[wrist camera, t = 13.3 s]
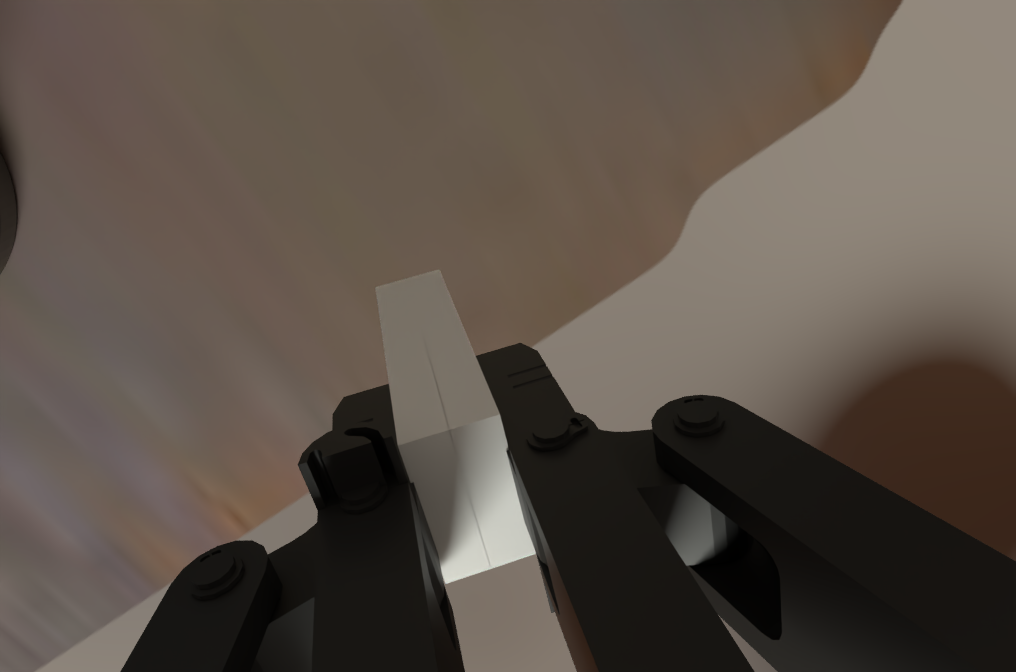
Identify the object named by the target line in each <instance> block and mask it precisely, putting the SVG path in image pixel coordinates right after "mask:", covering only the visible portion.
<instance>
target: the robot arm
mask: <svg viewBox="0 0 1016 672" xmlns="http://www.w3.org/2000/svg"><path fill="white" fill-rule="evenodd" d="M16 225H17V211H16V200H15V194H14V189H13V185H12V181H11V178H10V175H9V172H8V169H7V166H6V164H5V161H4V159H3V157H2V155H1V153H0V274H1V272H2V271H3V269H4V267H5V265H6V263H7V261H8V259H9V256H10V254H11V251H12V247H13V244H14V239H15V234H16ZM375 288H376V295H377V302H378V310H379V317H380V324H381V331H382V338H383V345H384V352H385V359H386V366H387V373H388V380H389V384H387V385H383V386H380V387H376V388H373V389H370V390H366V391H363V392H360V393H356V394H353V395H349V396H346V397H344V398H343V399H342V401H341V402H340V404H339V405H338V407H337V408H336V410H335V412H334V413H333V429H332V431H330V432H328V433H326V434H325V435H323V436H322V437H320V438H319V439H317V440H315V441H314V442H313V443H312V444H311V445H310V446H309V447H308V448H307V449H306V450H305V451H304V452H303V453H302V456H301V458H300V461H299V463H298V466H299V469H300V471H301V473H302V476H303V478H304V480H305V482H306V485H307V487H308V489H309V492H310V494H311V496H312V498H313V501H314V503H315V505H316V508H317V510H318V519H317V523H316V524H315V525H314V526H313V527H311V528H310V529H309V530H308V531H307V532H306V533H304V534H303V535H301V536H299V537H298V538H296V539H295V540H293V541H292V542H290V543H288V544H286V545H284V546H283V547H281V548H279V549H277V550H275V551H274V552H272V553H270V554H267V552H266V550H265V548H264V546H262V545H260V544H258V543H256V542H254V541H233V542H230V543H227V544H223V545H220V546H217V547H215V548H213V549H211V550H209V551H207V552H205V553H204V554H202V555H200V556H199V557H197V558H196V559H195V560H194V561H192V562H191V563H190V564H189V565H187V566H186V567H185V568H184V569H183V570H182V571H181V572H180V573H179V575H178V576H177V577H176V579H175V580H174V581H173V582H172V584H171V585H170V587H169V588H168V590H167V592H166V594H165V596H164V597H163V599H162V601H161V602H160V604H159V606H158V608H157V610H156V611H155V613H154V615H153V616H152V618H151V620H150V621H149V623H148V625H147V627H146V628H145V630H144V632H143V634H142V635H141V637H140V639H139V641H138V642H137V644H136V646H135V648H134V649H133V651H132V653H131V654H130V656H129V658H128V660H127V661H126V663H125V665H124V667H123V668H122V670H121V672H465V670H464V665H463V660H462V655H461V650H460V645H459V640H458V635H457V629H456V625H455V620H454V615H453V610H452V606H451V604H450V601H449V598H448V595H447V592H446V589H445V586H444V582H443V577H444V580H445V583H446V584H447V583H449V582H452V581H456V580H459V579H462V578H465V577H468V576H470V575H473V574H477V573H479V572H483V571H486V570H489V569H492V568H494V567H497V566H501V565H503V564H506V563H509V562H513V561H516V560H518V559H522V558H525V557H528V556H531V555H533V554H537V558H538V562H539V566H540V570H541V574H542V578H543V581H544V586H545V590H546V593H547V597H548V601H549V605H550V609H551V613H553V612H555V613H556V616H557V619H558V622H559V624H560V627H561V630H562V632H563V635H564V638H565V641H566V643H567V646H568V648H569V651H570V654H571V657H572V660H573V662H574V665H575V668H576V671H577V672H754V670H753V669H752V667H751V666H750V664H749V662H748V661H747V659H746V658H745V656H744V655H743V653H742V652H741V650H740V649H739V647H738V645H737V644H736V642H735V641H734V639H733V638H732V636H731V634H730V633H729V631H728V630H727V628H726V627H725V625H724V624H723V622H722V620H721V619H720V617H721V618H722V619H723V620H725V622H726V623H727V624H728V625H729V626H731V627H732V628H733V629H734V630H735V631H736V632H737V633H738V634H739V635H740V636H741V637H742V638H743V639H744V640H745V641H746V642H747V643H748V644H749V645H750V646H751V647H753V648H754V649H755V650H756V651H757V652H758V653H759V654H760V655H761V656H762V657H763V658H764V659H765V660H766V661H767V662H768V663H769V664H770V665H771V666H772V667H773V668H774V669H775V670H777V671H778V672H1016V561H1014V560H1012V559H1010V558H1009V557H1007V556H1005V555H1004V554H1002V553H1000V552H998V551H996V550H995V549H993V548H991V547H989V546H988V545H986V544H984V543H982V542H981V541H979V540H977V539H975V538H973V537H972V536H970V535H968V534H966V533H965V532H963V531H961V530H959V529H958V528H956V527H954V526H952V525H950V524H949V523H947V522H945V521H943V520H942V519H940V518H938V517H936V516H935V515H933V514H931V513H929V512H928V511H925V510H924V509H922V508H920V507H919V506H917V505H915V504H913V503H912V502H910V501H908V500H906V499H904V498H903V497H901V496H899V495H897V494H896V493H894V492H892V491H890V490H888V489H887V488H885V487H883V486H882V485H879V484H878V483H876V482H874V481H873V480H871V479H869V478H867V477H866V476H864V475H862V474H860V473H859V472H857V471H855V470H853V469H851V468H850V467H848V466H846V465H844V464H843V463H841V462H839V461H837V460H835V459H834V458H832V457H830V456H828V455H826V454H825V453H823V452H821V451H819V450H818V449H816V448H814V447H812V446H811V445H809V444H807V443H805V442H803V441H802V440H800V439H798V438H796V437H795V436H793V435H791V434H790V433H788V432H786V431H784V430H782V429H781V428H779V427H777V426H775V425H773V424H772V423H770V422H768V421H767V420H765V419H763V418H761V417H759V416H757V415H756V414H754V413H752V412H750V411H749V410H747V409H745V408H743V407H742V406H740V405H738V404H736V403H735V402H732V401H729V400H727V399H724V398H721V397H717V396H708V395H693V396H686V397H682V398H679V399H676V400H673V401H670V402H668V403H667V404H665V405H664V406H662V407H661V408H660V409H658V410H657V412H656V413H655V415H654V417H653V419H652V420H651V421H652V430H641V431H631V432H611V431H603V430H600V429H598V428H597V426H596V425H595V423H594V422H593V421H592V420H590V419H589V418H588V417H587V416H586V415H583V414H580V413H577V412H575V411H574V409H573V408H572V406H571V404H570V403H569V401H568V400H567V398H566V396H565V395H564V393H563V391H562V390H561V388H560V387H559V385H558V383H557V382H556V380H555V379H554V377H553V376H552V374H551V372H550V371H549V369H548V367H546V364H545V362H544V361H543V359H542V358H541V356H540V354H539V353H538V351H536V350H534V349H532V348H530V347H528V346H526V345H524V344H522V343H518V344H515V345H511V346H508V347H505V348H501V349H498V350H495V351H491V352H488V353H484V354H481V355H478V356H475V354H474V351H473V349H472V346H471V344H470V342H469V339H468V337H467V334H466V332H465V330H464V327H463V325H462V323H461V320H460V318H459V315H458V313H457V311H456V308H455V306H454V303H453V301H452V299H451V296H450V294H449V291H448V289H447V287H446V284H445V282H444V279H443V277H442V275H441V272H440V270H435V271H431V272H428V273H424V274H421V275H417V276H414V277H410V278H406V279H403V280H399V281H396V282H392V283H389V284H385V285H381V286H378V287H375ZM535 551H536V553H535ZM442 575H443V576H442ZM718 615H719V616H720V617H719V616H718Z"/></svg>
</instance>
